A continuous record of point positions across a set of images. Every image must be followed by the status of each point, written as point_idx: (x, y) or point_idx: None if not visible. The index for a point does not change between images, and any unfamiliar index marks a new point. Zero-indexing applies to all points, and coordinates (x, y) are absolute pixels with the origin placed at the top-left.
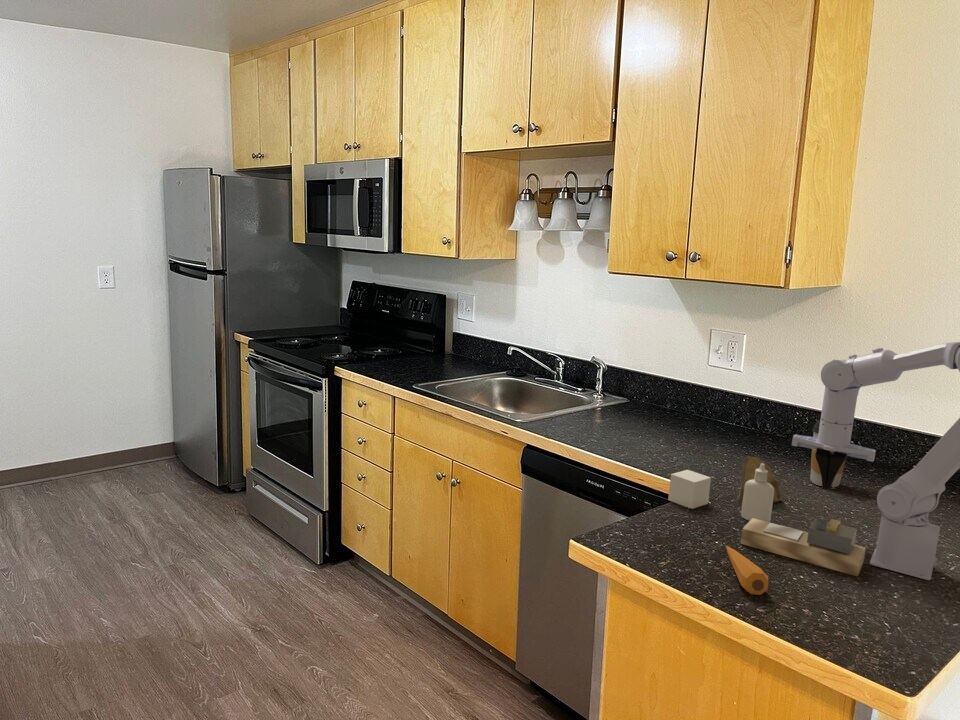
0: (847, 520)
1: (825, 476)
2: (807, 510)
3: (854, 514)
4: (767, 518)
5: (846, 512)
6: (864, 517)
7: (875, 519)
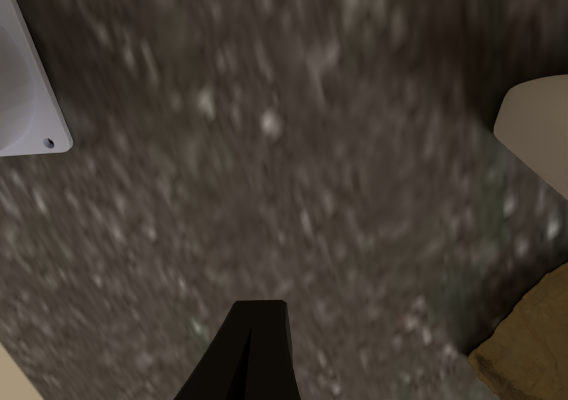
0: None
1: (253, 383)
2: (374, 336)
3: None
4: (519, 98)
5: None
6: None
7: None
